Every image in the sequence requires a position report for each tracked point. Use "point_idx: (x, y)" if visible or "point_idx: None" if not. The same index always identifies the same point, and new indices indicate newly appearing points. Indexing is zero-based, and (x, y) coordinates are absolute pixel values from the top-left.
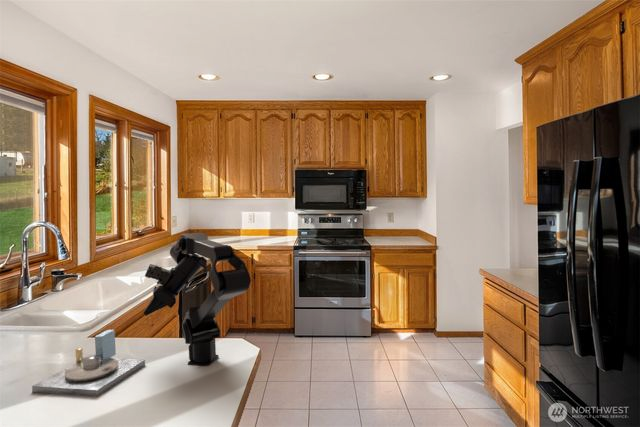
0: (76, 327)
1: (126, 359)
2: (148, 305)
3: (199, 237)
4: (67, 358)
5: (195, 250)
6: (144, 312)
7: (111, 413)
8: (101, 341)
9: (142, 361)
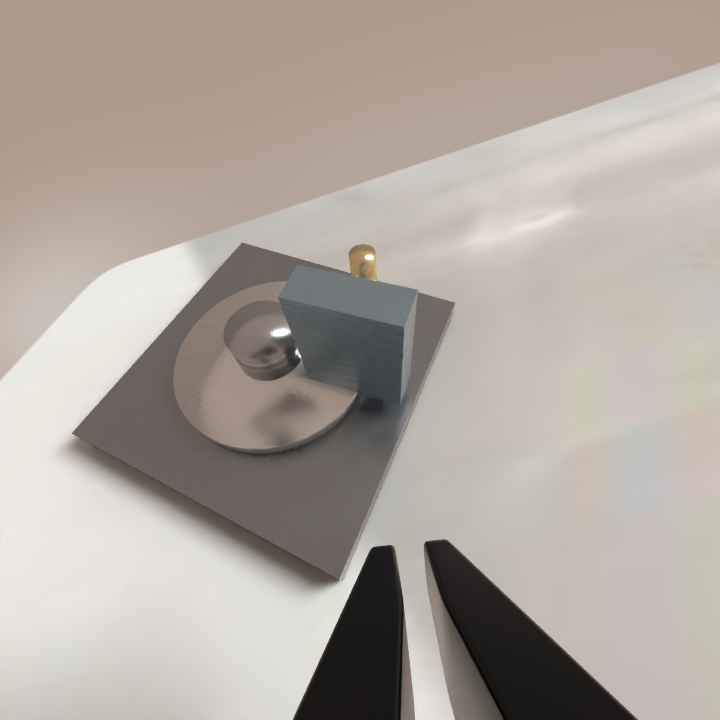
0: None
1: (377, 468)
2: (309, 695)
3: None
4: (512, 244)
5: None
6: (364, 567)
7: None
8: (285, 314)
9: (320, 568)
